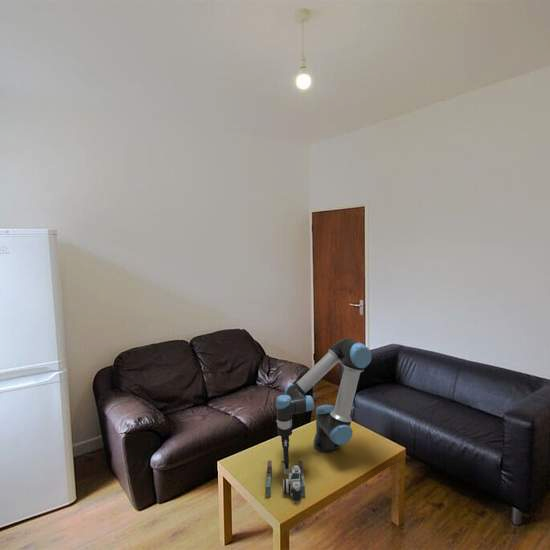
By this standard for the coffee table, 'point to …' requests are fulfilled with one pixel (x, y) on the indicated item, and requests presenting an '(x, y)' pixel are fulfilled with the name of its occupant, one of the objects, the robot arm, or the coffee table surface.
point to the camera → (293, 484)
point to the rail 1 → (269, 479)
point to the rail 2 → (302, 484)
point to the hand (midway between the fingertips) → (286, 465)
